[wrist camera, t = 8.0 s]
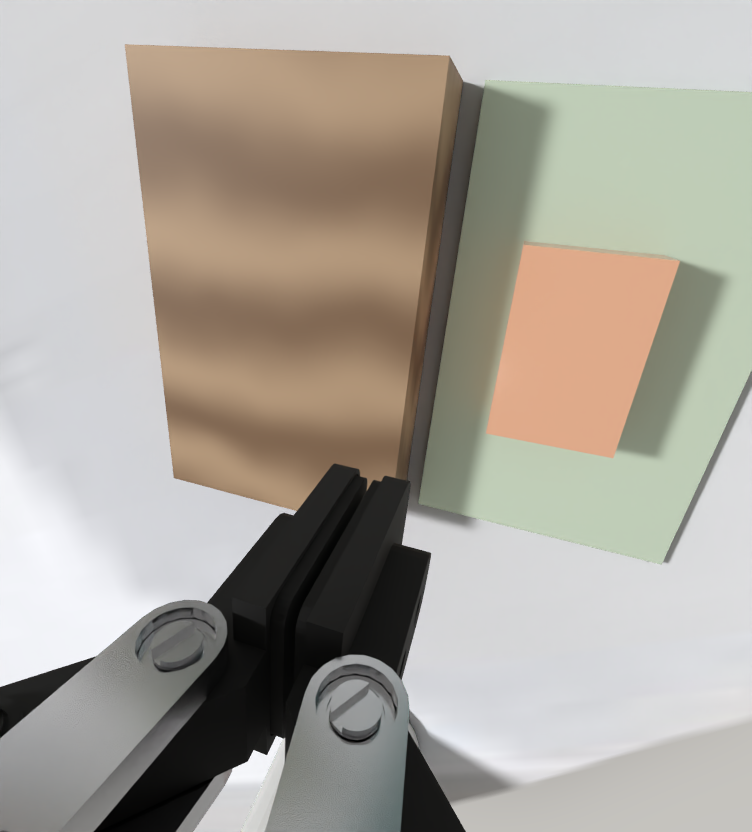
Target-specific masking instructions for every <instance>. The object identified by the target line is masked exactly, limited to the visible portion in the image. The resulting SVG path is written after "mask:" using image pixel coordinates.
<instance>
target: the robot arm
mask: <svg viewBox="0 0 752 832" xmlns="http://www.w3.org/2000/svg"><path fill="white" fill-rule="evenodd" d="M409 493H410V481H406V480H402V479H398V478H394V477H390V476H384V477H383V479H382V481H377V480H373V481H372V483H371V485H370V486H369V488H368V490H367V478H365V477H361V476H360V470H359V469H356V468H352V467H348V466H344V465H340V464H336V463H335V464H333V465H332V466H331V467H330V468H329V470H328V471H327V472H326V474H325V475H324V476H323V478H322V479H321V480H320V482H319V483H318V484H317V486H316V487H315V488H314V489H313V491H312V492H311V493H310V495H309V496H308V497H307V499H306V500H305V501H304V503H303V504H302V505H301V507H300V508H299V509H298V510H297V512H296V513H295V514H294V516H293V515H290V514H286V513H282V514H280V515H279V516H278V517H277V518H276V519H275V520H274V521H273V523H272V524H271V525H270V526H269V527H268V529H267V530H266V531H265V532H264V534H263V535H262V536H261V537H260V539H259V540H258V541H257V542H256V543H255V545H254V546H253V547H252V548H251V550H250V551H249V552H248V553H247V555H246V556H245V557H244V558H243V559H242V561H241V562H240V563H239V564H238V566H237V567H236V568H235V569H234V571H233V572H232V573H231V574H230V575H229V577H228V578H227V579H226V580H225V582H224V583H223V584H222V585H221V587H220V588H219V589H218V590H217V591H216V593H215V594H214V595H213V596H212V598H211V599H210V600H209V601H208V603H205V602H202V601H197V600H182V601H177V602H172V603H168V604H166V605H164V606H161V607H159V608H156V609H154V610H153V611H151V612H150V613H148V614H147V615H146V616H144V617H143V618H141V619H140V620H139V621H138V622H137V623H135V624H134V625H133V626H132V627H131V628H129V629H128V630H127V631H126V632H125V633H124V634H122V635H121V636H120V637H119V638H118V639H117V640H115V641H114V642H113V643H112V644H111V645H109V646H108V647H107V648H106V649H105V650H104V651H102V652H101V653H100V654H99V655H98V656H96V657H93V658H90V659H87V660H83V661H80V662H77V663H74V664H71V665H68V666H65V667H62V668H58V669H55V670H52V671H49V672H46V673H43V674H40V675H37V676H33V677H30V678H27V679H24V680H21V681H18V682H15V683H11V684H8V685H5V686H2V687H0V832H193V831H194V830H195V828H196V827H197V825H198V824H199V822H200V821H201V819H202V818H203V816H204V815H205V814H206V812H207V811H208V809H209V808H210V806H211V805H212V803H213V802H214V800H215V799H216V797H217V796H218V795H219V793H220V792H221V790H222V789H223V787H224V786H225V784H226V782H227V780H228V778H229V776H230V774H231V772H232V768H234V767H236V766H238V765H241V764H243V763H245V762H247V761H248V760H249V758H250V756H251V754H252V752H253V750H255V751H258V752H260V753H263V754H265V755H267V754H268V752H269V750H270V748H271V745H272V743H273V741H274V739H275V737H276V736H278V737H281V738H283V740H282V742H281V744H280V747H279V749H278V751H277V753H276V755H275V757H274V760H273V762H272V764H271V766H270V768H269V770H268V773H267V775H266V777H265V779H264V781H263V784H262V786H261V788H260V790H259V792H258V794H257V797H256V799H255V801H254V803H253V805H252V807H251V810H250V812H249V814H248V816H247V818H246V821H245V823H244V825H243V827H242V829H241V831H240V832H466V831H465V830H464V828H463V826H462V824H461V823H460V821H459V819H458V818H457V816H456V814H455V812H454V810H453V809H452V807H451V805H450V803H449V801H448V800H447V798H446V796H445V794H444V793H443V791H442V789H441V787H440V786H439V784H438V782H437V780H436V778H435V777H434V775H433V773H432V771H431V770H430V768H429V766H428V764H427V763H426V761H425V759H424V757H423V756H422V754H421V752H420V750H419V747H418V740H417V737H416V734H415V731H414V730H413V728H412V726H411V725H410V723H409V701H408V694H407V692H406V689H405V687H404V685H403V682H402V676H403V673H404V669H405V665H406V661H407V658H408V654H409V650H410V646H411V643H412V639H413V635H414V631H415V628H416V624H417V620H418V616H419V612H420V608H421V603H422V599H423V594H424V590H425V585H426V580H427V574H428V569H429V564H430V558H431V553H429V552H426V551H422V550H418V549H415V548H411V547H407V546H404V545H402V539H403V533H404V526H405V519H406V513H407V506H408V500H409Z"/></svg>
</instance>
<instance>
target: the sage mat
mask: <svg viewBox="0 0 752 832" xmlns="http://www.w3.org/2000/svg"><path fill="white" fill-rule="evenodd" d="M524 241H530V242H540V243H550V244H560V245H570V246H580V247H590V248H600V249H609V250H619V251H629V252H639V253H649V254H659V255H666V256H668V257H671V258H674V259H676V260H679V261H680V263H679V266H678V269H677V272H676V275H675V278H674V281H673V284H672V287H671V290H670V292H669V295H668V298H667V301H666V304H665V307H664V310H663V313H662V316H661V319H660V322H659V325H658V328H657V331H656V334H655V337H654V340H653V343H652V346H651V349H650V351H649V354H648V357H647V360H646V363H645V366H644V369H643V372H642V375H641V378H640V381H639V384H638V387H637V390H636V393H635V396H634V399H633V402H632V405H631V408H630V410H629V413H628V416H627V419H626V422H625V425H624V428H623V431H622V434H621V437H620V440H619V443H618V446H617V449H616V452H615V455H614V458H609V457H604V456H599V455H594V454H588V453H583V452H578V451H573V450H568V449H563V448H558V447H553V446H547V445H542V444H537V443H532V442H527V441H522V440H517V439H511V438H506V437H501V436H496V435H491V434H486V430H487V424H488V419H489V414H490V409H491V404H492V399H493V394H494V389H495V384H496V379H497V374H498V369H499V363H500V358H501V353H502V348H503V343H504V338H505V333H506V328H507V323H508V318H509V313H510V308H511V303H512V298H513V293H514V288H515V283H516V278H517V273H518V268H519V263H520V258H521V253H522V248H523V243H524ZM751 371H752V92H737V91H715V90H693V89H671V88H649V87H627V86H605V85H583V84H561V83H539V82H517V81H495V80H485V86H484V92H483V98H482V105H481V111H480V117H479V124H478V130H477V136H476V143H475V149H474V155H473V162H472V168H471V174H470V180H469V187H468V193H467V199H466V206H465V212H464V218H463V225H462V231H461V237H460V244H459V250H458V256H457V263H456V269H455V275H454V281H453V288H452V294H451V300H450V307H449V313H448V319H447V326H446V332H445V338H444V345H443V351H442V357H441V363H440V370H439V376H438V382H437V389H436V395H435V401H434V408H433V414H432V420H431V427H430V433H429V439H428V446H427V452H426V458H425V464H424V471H423V477H422V483H421V490H420V496H419V502H418V504H420V505H424V506H428V507H432V508H436V509H440V510H444V511H448V512H452V513H457V514H461V515H465V516H469V517H473V518H477V519H481V520H485V521H489V522H493V523H497V524H501V525H505V526H509V527H513V528H517V529H521V530H525V531H529V532H533V533H537V534H541V535H545V536H549V537H553V538H557V539H561V540H565V541H569V542H573V543H577V544H581V545H585V546H589V547H593V548H597V549H601V550H605V551H609V552H613V553H617V554H621V555H625V556H629V557H633V558H637V559H641V560H645V561H649V562H653V563H657V564H661V565H662V562H663V560H664V558H665V556H666V554H667V552H668V550H669V547H670V545H671V543H672V541H673V539H674V537H675V534H676V532H677V530H678V528H679V526H680V524H681V522H682V519H683V517H684V515H685V513H686V511H687V509H688V506H689V504H690V502H691V500H692V498H693V496H694V493H695V491H696V489H697V487H698V485H699V483H700V481H701V478H702V476H703V474H704V472H705V470H706V468H707V465H708V463H709V461H710V459H711V457H712V455H713V453H714V450H715V448H716V446H717V444H718V442H719V440H720V437H721V435H722V433H723V431H724V429H725V427H726V425H727V422H728V420H729V418H730V416H731V414H732V412H733V409H734V407H735V405H736V403H737V401H738V399H739V397H740V394H741V392H742V390H743V388H744V386H745V384H746V381H747V379H748V377H749V375H750V373H751Z"/></svg>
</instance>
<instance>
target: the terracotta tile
mask: <svg viewBox="0 0 752 832" xmlns="http://www.w3.org/2000/svg"><path fill="white" fill-rule="evenodd" d="M679 263H680V261H679V260H676V259H674V258H671V257H668V256H666V255H659V254H649V253H639V252H629V251H619V250H609V249H600V248H590V247H580V246H570V245H560V244H550V243H540V242H530V241H524V243H523V248H522V253H521V258H520V263H519V268H518V273H517V278H516V283H515V288H514V293H513V298H512V303H511V308H510V313H509V318H508V323H507V328H506V333H505V338H504V343H503V348H502V353H501V358H500V363H499V369H498V374H497V379H496V384H495V389H494V394H493V399H492V404H491V409H490V414H489V419H488V424H487V430H486V434H491V435H496V436H501V437H506V438H511V439H517V440H522V441H527V442H532V443H537V444H542V445H547V446H553V447H558V448H563V449H568V450H573V451H578V452H583V453H588V454H594V455H599V456H604V457H609V458H614V455H615V452H616V449H617V446H618V443H619V440H620V437H621V434H622V431H623V428H624V425H625V422H626V419H627V416H628V413H629V410H630V408H631V405H632V402H633V399H634V396H635V393H636V390H637V387H638V384H639V381H640V378H641V375H642V372H643V369H644V366H645V363H646V360H647V357H648V354H649V351H650V349H651V346H652V343H653V340H654V337H655V334H656V331H657V328H658V325H659V322H660V319H661V316H662V313H663V310H664V307H665V304H666V301H667V298H668V295H669V292H670V290H671V287H672V284H673V281H674V278H675V275H676V272H677V269H678V266H679Z"/></svg>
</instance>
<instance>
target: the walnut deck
mask: <svg viewBox="0 0 752 832" xmlns="http://www.w3.org/2000/svg"><path fill="white" fill-rule="evenodd" d="M125 50H126V59H127V68H128V76H129V85H130V94H131V103H132V112H133V121H134V129H135V138H136V147H137V156H138V165H139V174H140V182H141V191H142V200H143V209H144V218H145V227H146V235H147V244H148V253H149V262H150V271H151V280H152V288H153V297H154V306H155V315H156V324H157V333H158V341H159V350H160V359H161V368H162V377H163V386H164V394H165V403H166V412H167V421H168V430H169V439H170V447H171V456H172V465H173V474H174V478H176V479H180V480H184V481H187V482H191V483H195V484H199V485H202V486H206V487H210V488H213V489H217V490H221V491H225V492H228V493H232V494H236V495H240V496H243V497H247V498H251V499H255V500H258V501H262V502H266V503H269V504H273V505H277V506H281V507H284V508H288V509H292V510H296V511H297V510H298V509H299V508H300V507H301V505H302V504H303V503H304V501H305V500H306V499H307V497H308V496H309V495H310V493H311V492H312V491H313V489H314V488H315V487H316V486H317V484H318V483H319V482H320V480H321V479H322V478H323V476H324V475H325V474H326V472H327V471H328V470H329V468H330V467H331V466H332V465H333V464H335V463H336V464H340V465H344V466H348V467H352V468H356V469H359V470H360V476H361V477H365V478H367V490H368V488H369V486H370V485H371V483H372V481H373V480H377V481H382V479H383V477H384V476H390V477H394V478H398V479H402V480H406V481H407V474H408V467H409V460H410V452H411V445H412V438H413V431H414V424H415V417H416V410H417V403H418V396H419V389H420V382H421V375H422V368H423V361H424V354H425V347H426V339H427V332H428V325H429V318H430V311H431V304H432V297H433V290H434V283H435V276H436V269H437V262H438V255H439V248H440V241H441V234H442V226H443V219H444V212H445V205H446V198H447V191H448V184H449V177H450V170H451V163H452V156H453V149H454V142H455V135H456V128H457V120H458V113H459V106H460V99H461V92H462V85H463V80H462V78H461V76H460V74H459V73H458V71H457V69H456V67H455V65H454V63H453V61H452V59H451V58H450V56H441V55H413V54H384V53H355V52H327V51H298V50H270V49H241V48H212V47H184V46H155V45H127V44H125Z"/></svg>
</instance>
